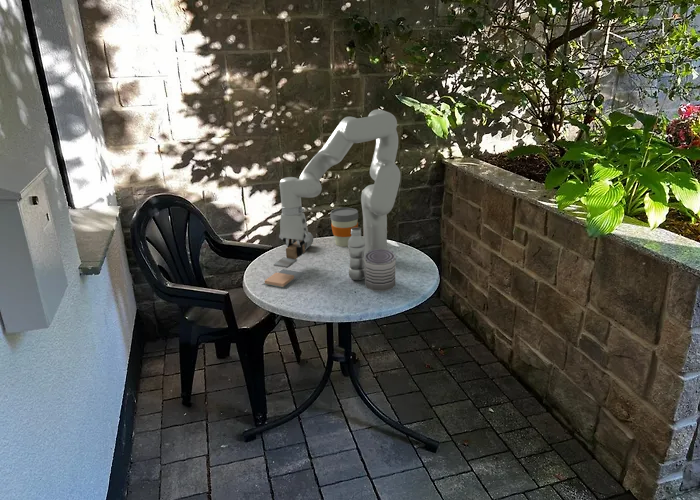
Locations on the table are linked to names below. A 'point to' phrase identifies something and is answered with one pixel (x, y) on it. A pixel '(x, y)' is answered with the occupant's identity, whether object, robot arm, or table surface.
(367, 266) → the ribbed tin
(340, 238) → the reusable coffee cup
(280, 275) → the tile
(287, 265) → the tall brown block
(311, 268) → the table surface
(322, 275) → the table surface
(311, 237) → the ceramic mug
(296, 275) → the mat
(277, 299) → the table surface
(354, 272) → the silver bottle
